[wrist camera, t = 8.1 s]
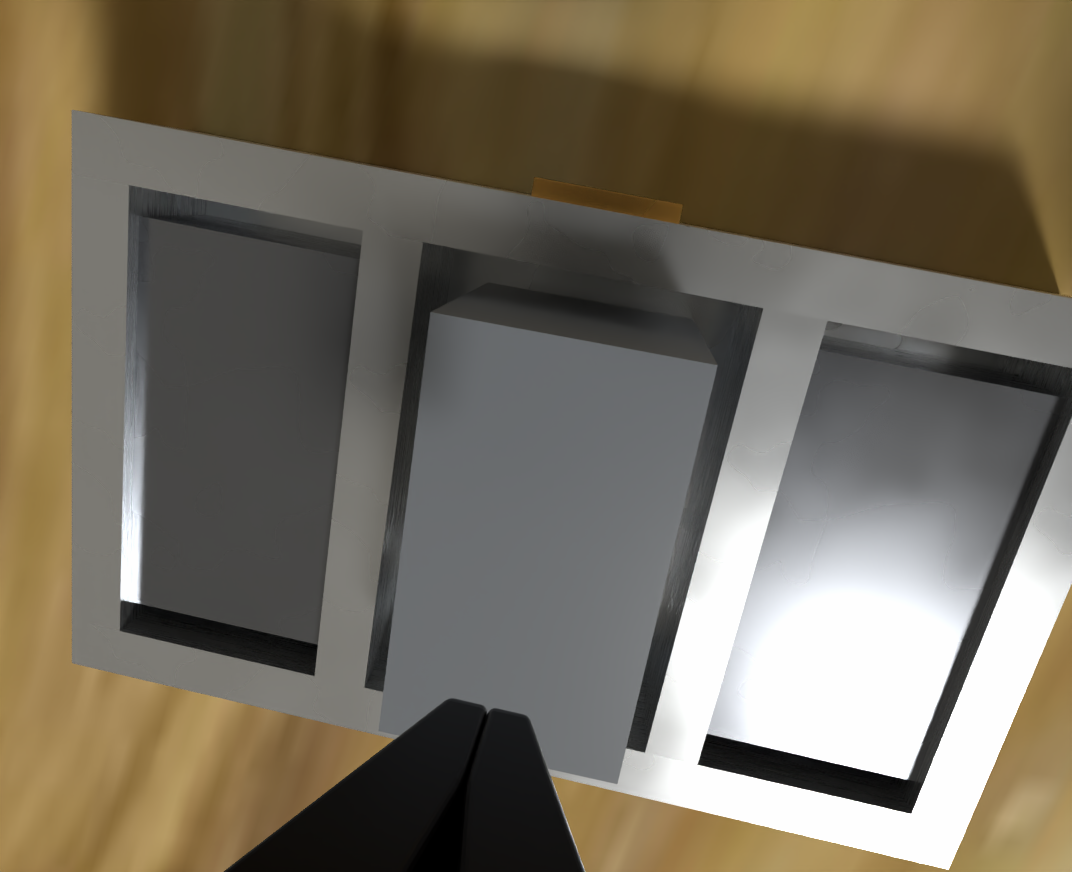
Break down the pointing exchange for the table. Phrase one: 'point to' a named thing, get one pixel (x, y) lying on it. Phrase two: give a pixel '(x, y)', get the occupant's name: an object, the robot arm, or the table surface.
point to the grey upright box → (544, 514)
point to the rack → (711, 503)
